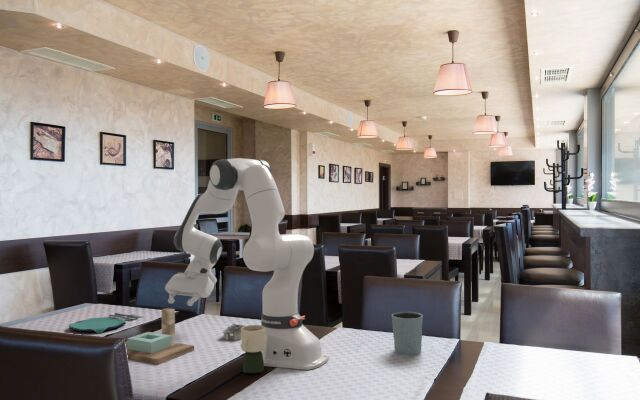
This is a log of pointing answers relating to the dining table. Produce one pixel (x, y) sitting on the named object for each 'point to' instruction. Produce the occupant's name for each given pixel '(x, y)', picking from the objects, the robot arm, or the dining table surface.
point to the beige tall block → (168, 321)
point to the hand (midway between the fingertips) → (179, 303)
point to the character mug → (253, 348)
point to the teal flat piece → (101, 323)
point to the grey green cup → (407, 332)
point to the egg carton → (233, 329)
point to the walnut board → (160, 353)
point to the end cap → (149, 342)
